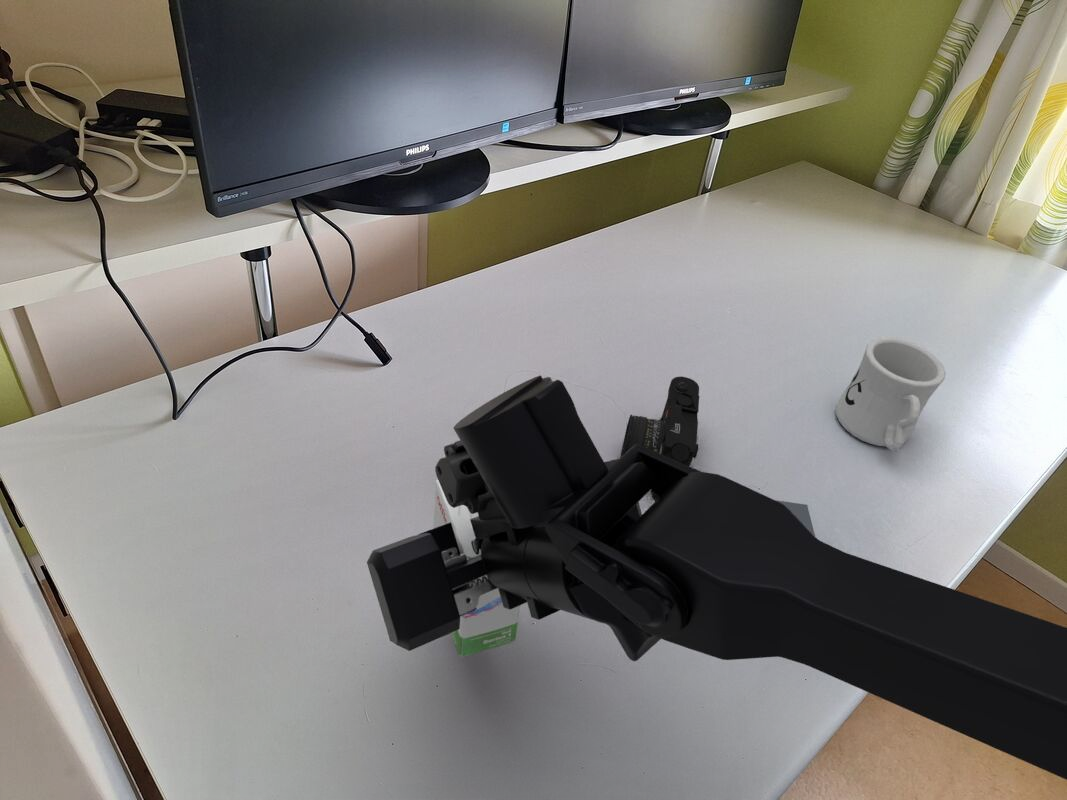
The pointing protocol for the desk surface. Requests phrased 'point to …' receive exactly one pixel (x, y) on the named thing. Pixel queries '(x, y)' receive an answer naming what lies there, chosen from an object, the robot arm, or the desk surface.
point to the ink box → (490, 617)
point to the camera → (669, 425)
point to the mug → (889, 391)
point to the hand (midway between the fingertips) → (471, 541)
